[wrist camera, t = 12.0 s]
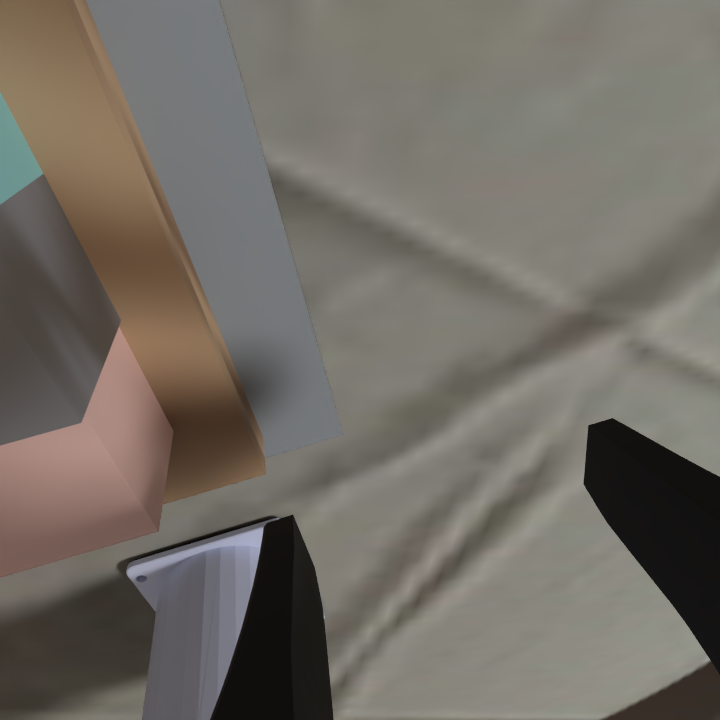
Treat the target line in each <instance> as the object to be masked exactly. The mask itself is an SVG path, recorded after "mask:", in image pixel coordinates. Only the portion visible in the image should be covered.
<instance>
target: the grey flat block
mask: <svg viewBox="0 0 720 720" xmlns="http://www.w3.org/2000/svg"><path fill="white" fill-rule="evenodd" d="M86 2H87V5H88V7H89V10H90V12H91V15H92V17H93V19H94V22H95V24H96V27H97V29H98V32H99V34H100V37H101V39H102V42H103V44H104V47H105V49H106V52H107V54H108V56H109V59H110V61H111V64H112V66H113V69H114V71H115V74H116V76H117V79H118V81H119V84H120V86H121V88H122V91H123V93H124V96H125V98H126V101H127V103H128V106H129V108H130V111H131V113H132V116H133V118H134V120H135V123H136V125H137V128H138V130H139V133H140V135H141V138H142V140H143V143H144V145H145V148H146V150H147V152H148V155H149V157H150V160H151V162H152V165H153V167H154V170H155V172H156V175H157V177H158V180H159V182H160V185H161V187H162V189H163V192H164V194H165V197H166V199H167V202H168V204H169V207H170V209H171V212H172V214H173V217H174V219H175V221H176V224H177V226H178V229H179V231H180V234H181V236H182V239H183V241H184V244H185V246H186V249H187V251H188V253H189V256H190V258H191V261H192V263H193V266H194V268H195V271H196V273H197V276H198V278H199V281H200V283H201V285H202V288H203V290H204V293H205V295H206V298H207V300H208V303H209V305H210V308H211V310H212V313H213V315H214V317H215V320H216V322H217V325H218V327H219V330H220V332H221V335H222V337H223V340H224V342H225V345H226V347H227V350H228V352H229V354H230V357H231V359H232V362H233V364H234V367H235V369H236V372H237V374H238V377H239V379H240V382H241V384H242V386H243V389H244V391H245V394H246V396H247V399H248V401H249V404H250V406H251V409H252V411H253V414H254V416H255V418H256V421H257V423H258V426H259V428H260V431H261V433H262V436H263V441H264V454H265V458H266V457H269V456H273V455H276V454H280V453H283V452H286V451H290V450H293V449H297V448H300V447H303V446H307V445H310V444H314V443H317V442H320V441H324V440H327V439H331V438H334V437H337V436H341V435H343V433H342V430H341V426H340V423H339V419H338V415H337V412H336V408H335V405H334V401H333V397H332V394H331V390H330V387H329V383H328V380H327V376H326V373H325V369H324V366H323V362H322V359H321V355H320V352H319V348H318V345H317V341H316V338H315V334H314V331H313V327H312V324H311V320H310V317H309V313H308V310H307V306H306V303H305V299H304V296H303V292H302V289H301V285H300V282H299V278H298V275H297V271H296V268H295V264H294V261H293V257H292V254H291V250H290V247H289V243H288V240H287V236H286V233H285V229H284V226H283V222H282V219H281V215H280V212H279V208H278V205H277V201H276V198H275V194H274V191H273V187H272V184H271V180H270V177H269V173H268V170H267V166H266V163H265V159H264V156H263V152H262V149H261V145H260V142H259V138H258V135H257V131H256V128H255V124H254V121H253V117H252V114H251V110H250V107H249V103H248V100H247V96H246V93H245V89H244V86H243V82H242V79H241V75H240V72H239V68H238V65H237V61H236V58H235V54H234V51H233V47H232V44H231V40H230V37H229V33H228V30H227V26H226V23H225V19H224V16H223V12H222V9H221V5H220V2H219V0H86Z"/></svg>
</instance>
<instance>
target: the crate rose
mask: <svg viewBox="0 0 720 720" xmlns="http://www.w3.org/2000/svg"><path fill="white" fill-rule="evenodd" d="M172 438H173V429H172V427H171V425H170V424H169V422H168V420H167V418H166V416H165V414H164V412H163V410H162V408H161V406H160V404H159V403H158V401H157V399H156V397H155V395H154V393H153V391H152V389H151V387H150V385H149V383H148V381H147V380H146V378H145V376H144V374H143V372H142V370H141V368H140V366H139V364H138V362H137V360H136V358H135V357H134V355H133V353H132V351H131V349H130V347H129V345H128V343H127V341H126V339H125V337H124V335H123V334H122V332H121V330H120V328H118V331H117V333H116V336H115V338H114V341H113V343H112V346H111V348H110V351H109V354H108V356H107V359H106V361H105V364H104V366H103V369H102V371H101V374H100V377H99V379H98V382H97V384H96V387H95V389H94V392H93V394H92V397H91V399H90V402H89V405H88V407H87V410H86V412H85V415H84V417H83V420H82V422H81V423H79V424H76V425H72V426H68V427H65V428H61V429H58V430H54V431H51V432H47V433H43V434H40V435H36V436H33V437H29V438H26V439H22V440H19V441H15V442H11V443H8V444H4V445H1V446H0V577H4V576H7V575H11V574H14V573H18V572H21V571H24V570H28V569H31V568H35V567H38V566H42V565H45V564H48V563H52V562H55V561H59V560H62V559H66V558H69V557H72V556H76V555H79V554H83V553H86V552H90V551H93V550H97V549H100V548H103V547H107V546H110V545H114V544H117V543H121V542H124V541H127V540H131V539H134V538H138V537H141V536H145V535H148V534H151V533H155V532H158V531H159V525H160V519H161V512H162V505H163V499H164V492H165V485H166V478H167V472H168V465H169V458H170V452H171V445H172Z"/></svg>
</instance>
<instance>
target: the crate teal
mask: <svg viewBox="0 0 720 720" xmlns="http://www.w3.org/2000/svg"><path fill="white" fill-rule="evenodd" d="M42 174H43V172H42V170H41V168H40V166H39V164H38V162H37V161H36V159H35V157H34V155H33V153H32V151H31V149H30V147H29V145H28V144H27V142H26V140H25V138H24V136H23V134H22V132H21V130H20V128H19V126H18V125H17V123H16V121H15V119H14V117H13V115H12V113H11V111H10V109H9V108H8V106H7V104H6V102H5V100H4V98H3V96H2V94H1V92H0V205H1V204H2V203H3V202H5V201H6V200H8V199H9V198H10V197H12V196H13V195H15V194H16V193H17V192H19V191H20V190H21V189H23V188H24V187H26V186H27V185H28V184H30V183H31V182H33V181H34V180H35V179H37V178H38V177H40V176H41V175H42Z"/></svg>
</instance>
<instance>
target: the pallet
mask: <svg viewBox="0 0 720 720" xmlns="http://www.w3.org/2000/svg"><path fill="white" fill-rule="evenodd" d="M0 92H1V94H2V96H3V98H4V100H5V102H6V104H7V106H8V108H9V109H10V111H11V113H12V115H13V117H14V119H15V121H16V123H17V125H18V126H19V128H20V130H21V132H22V134H23V136H24V138H25V140H26V142H27V144H28V145H29V147H30V149H31V151H32V153H33V155H34V157H35V159H36V161H37V162H38V164H39V166H40V168H41V170H42V172H43V174H42V175H41V176H40V177H38V178H37V179H35V180H34V181H33V182H31V183H30V184H28V185H27V186H26V187H24V188H23V189H21V190H20V191H19V192H17V193H16V194H15V195H13V196H12V197H10V198H9V199H8V200H6V201H5V202H3V203H2V204H1V205H0V446H1V445H4V444H8V443H11V442H15V441H19V440H22V439H26V438H29V437H33V436H36V435H40V434H43V433H47V432H51V431H54V430H58V429H61V428H65V427H68V426H72V425H76V424H79V423H81V422H82V420H83V417H84V415H85V412H86V410H87V407H88V405H89V402H90V399H91V397H92V394H93V392H94V389H95V387H96V384H97V382H98V379H99V377H100V374H101V371H102V369H103V366H104V364H105V361H106V359H107V356H108V354H109V351H110V348H111V346H112V343H113V341H114V338H115V336H116V333H117V331H118V328H120V330H121V332H122V334H123V335H124V337H125V339H126V341H127V343H128V345H129V347H130V349H131V351H132V353H133V355H134V357H135V358H136V360H137V362H138V364H139V366H140V368H141V370H142V372H143V374H144V376H145V378H146V380H147V381H148V383H149V385H150V387H151V389H152V391H153V393H154V395H155V397H156V399H157V401H158V403H159V404H160V406H161V408H162V410H163V412H164V414H165V416H166V418H167V420H168V422H169V424H170V425H171V427H172V429H173V438H172V445H171V452H170V458H169V465H168V472H167V478H166V485H165V492H164V499H163V504H166V503H169V502H173V501H176V500H180V499H183V498H186V497H190V496H193V495H196V494H200V493H203V492H207V491H210V490H213V489H217V488H220V487H224V486H227V485H230V484H234V483H237V482H241V481H244V480H247V479H251V478H254V477H258V476H261V475H264V474H266V467H265V454H264V441H263V436H262V433H261V431H260V428H259V426H258V423H257V421H256V418H255V416H254V414H253V411H252V409H251V406H250V404H249V401H248V399H247V396H246V394H245V391H244V389H243V386H242V384H241V382H240V379H239V377H238V374H237V372H236V369H235V367H234V364H233V362H232V359H231V357H230V354H229V352H228V350H227V347H226V345H225V342H224V340H223V337H222V335H221V332H220V330H219V327H218V325H217V322H216V320H215V317H214V315H213V313H212V310H211V308H210V305H209V303H208V300H207V298H206V295H205V293H204V290H203V288H202V285H201V283H200V281H199V278H198V276H197V273H196V271H195V268H194V266H193V263H192V261H191V258H190V256H189V253H188V251H187V249H186V246H185V244H184V241H183V239H182V236H181V234H180V231H179V229H178V226H177V224H176V221H175V219H174V217H173V214H172V212H171V209H170V207H169V204H168V202H167V199H166V197H165V194H164V192H163V189H162V187H161V185H160V182H159V180H158V177H157V175H156V172H155V170H154V167H153V165H152V162H151V160H150V157H149V155H148V152H147V150H146V148H145V145H144V143H143V140H142V138H141V135H140V133H139V130H138V128H137V125H136V123H135V120H134V118H133V116H132V113H131V111H130V108H129V106H128V103H127V101H126V98H125V96H124V93H123V91H122V88H121V86H120V84H119V81H118V79H117V76H116V74H115V71H114V69H113V66H112V64H111V61H110V59H109V56H108V54H107V52H106V49H105V47H104V44H103V42H102V39H101V37H100V34H99V32H98V29H97V27H96V24H95V22H94V19H93V17H92V15H91V12H90V10H89V7H88V5H87V2H86V0H0Z"/></svg>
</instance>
